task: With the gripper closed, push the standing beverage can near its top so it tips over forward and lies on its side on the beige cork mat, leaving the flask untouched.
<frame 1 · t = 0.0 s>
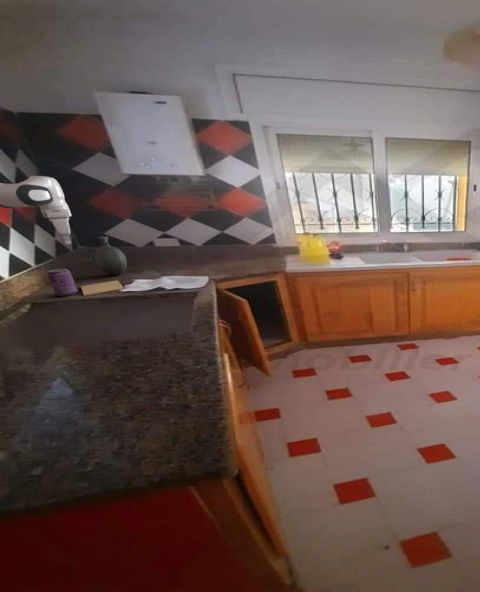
hand: (68, 242, 150), 23 cm above the counter, tool pointing down, fingers open, 8 cm apart
flask: (116, 275, 182), on the counter
beverage can: (67, 294, 150), on the counter
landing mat: (102, 288, 159), on the counter
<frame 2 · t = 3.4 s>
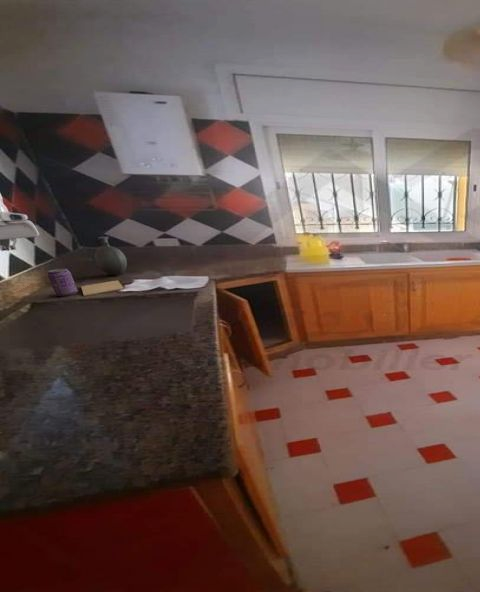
hand: (9, 250, 134), 23 cm above the counter, tool pointing down, fingers closed
nothing on the counter moved.
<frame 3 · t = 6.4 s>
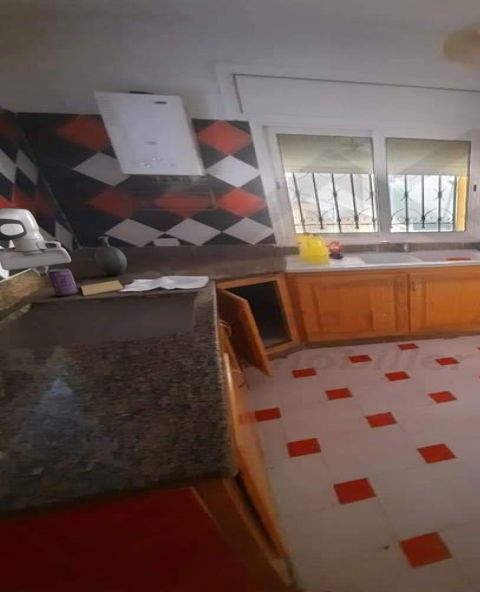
hand: (43, 275, 143), 10 cm above the counter, tool pointing down, fingers closed
beverage can: (67, 294, 150), on the counter, touching gripper
everything else where it was.
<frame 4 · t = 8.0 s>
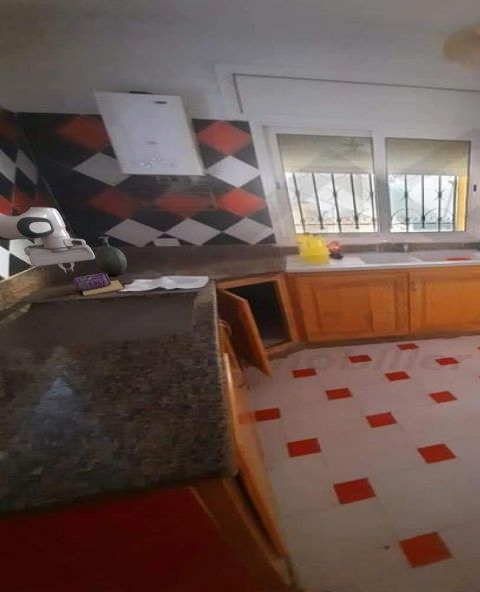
hand: (69, 272, 149), 10 cm above the counter, tool pointing down, fingers closed
beverage can: (74, 285, 151), point 4 cm above the counter, touching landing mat
everything else where it was.
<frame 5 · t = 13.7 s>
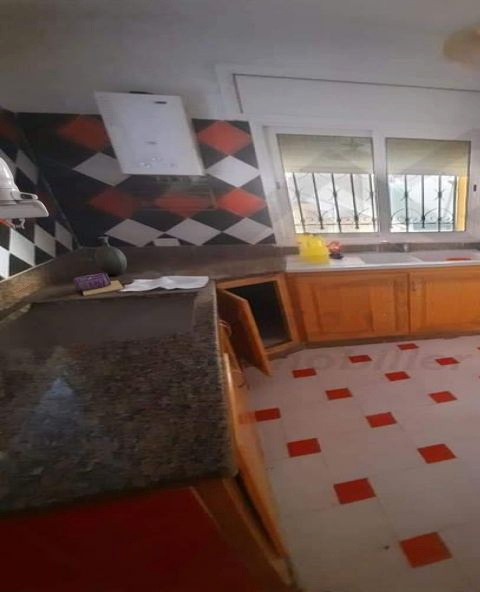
hand: (19, 229, 137), 31 cm above the counter, tool pointing down, fingers closed
nothing on the counter moved.
at the end: beverage can tilted 88°; beverage can inside the target area (5.8 cm from its centre), point 3.7 cm above the counter; flask moved 0.2 cm from its start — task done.
